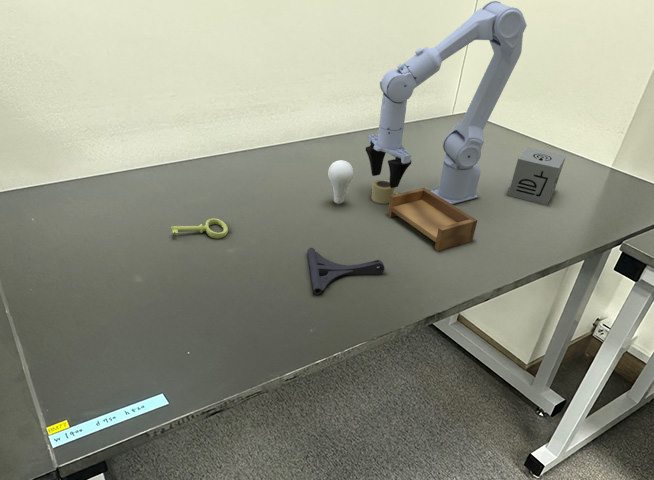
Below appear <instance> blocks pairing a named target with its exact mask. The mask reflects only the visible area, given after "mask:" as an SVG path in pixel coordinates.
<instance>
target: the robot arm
mask: <svg viewBox="0 0 654 480" xmlns="http://www.w3.org/2000/svg"><path fill="white" fill-rule="evenodd" d="M527 26H528V25H527V22H526V19H525V17H524V15H523V11H522V10H520V9H519V8H518V7H514V6H509V5H506V4H504V3H502V2H501V1H497V0H492V1H489V2H487V3H486V4H484V5H483V6H482V8H479V9H477V10H475V11H474V12H473V13H472V14H471V16H470V17H469V18H468V19H467V20H465V21H464V22H463V23H462V24H461V25H460V26H458V27H457V28H456V29H455V30H454V31H453V32H451V33H450V34H448V35H447V36H446V37H445V38H444V39H443V40H442V41H440V42H439V43H438V44H436V45H435V46H434V47H427V46H426V47H424V48H418V49H416V50H415V51H414V52H415V54H414V55H413V56H412V57H410V58H408V59H407V60H406V61H405V62H404V63H399V64H398V65H397V66H396V68H397V69H390V70H388V71H387V72H386V73H384V75H383V76H382V77H383V78H381V80H380V81H379V87H380V88H379V89H380V90H381V92H382V97H381V106H380V115H379V123H378V124H379V125H378V133H377V134H370V135H369V134H368V138H367V144H368V146H366V147H365V152H366V154H367V157H368V161H369V164H370V172H371V176H372V177H377V176H380V175H381V173H382V169H383V163H384V159H385V156H386V154H388V155H391V156H392V157H394V159H389V160H387V164H388V168H389V181H390V187H391V188H394V189H395V188H398V187H399V186H400V183H401V181H402V179H403V176H404V174H405V172H406V171H407V169H408V168H410V166H411V165H412V154H411V153H409V152H408V150H407V149H406V148H405V147H404V146H403V145H402V143H403V135H404V128H405V120H406V114H407V113H406V112H407V104H408V100H410V98H411V97H412V95H413V93H414V90H415V89H416V88H417V87H419V86H420V85H422V84H423V83H424V82H426V81H427V80H428V79H429V78H431V77H432V76H434V75H435V74H437V73H438V72H439V71H440V69H441V66H442V63H443V62H444V61H446V60H447V59H448V58H450V57H451V56H453V55H455V54H456V53H457V52H459V51H460V50H462V49H463V48H466V46H468V45H470V44H471V43H473V42H474V41H489V43H490V46H491V48H492V51H493V54H492V57H491V59H490V61H489V63H488V65H487V68H486V69H485V72H484V74H483V76H482V77H481V80H480V83H479V84H478V86H477V88H476V91H475V93H474V95H473V97H472V99H471V100H470V104H469V106H468V107H467V109H466V111H465V114H464V116H463V118H462V120H460V121H459V122H457V123H456V124H455V125H454V126H453V128H452V129H451V131H450V132H449V133H448V134H447V135H446V136H445V138H444V139H443V142H442V150H443V151H444V153H445V156H444V159H443V163H442V168H441V174H440V180H439V185H438V188H437V189H433V190H430V191H431V192H432V193H434V194H435V195H437V196H439V197H440V198H442V199H444V200H445V201H447V202H449V203H450V204H452V205H455V204H459V203H462V202H466V201H471V200H474V199H477V198H478V195H477V190H478V185H479V182H480V178H481V166H480V165H479V163H478V162H479V161H480V159H481V157H482V148H483V145H484V143H485V136H484V129H485V128H486V125H487V123H488V121H489V119H490V117H491V115H492V113H493V111H494V109H495V107H496V105H497V103H498V101H499V99H500V97H501V95H502V93H503V91H504V90H505V87H506V85H507V83H508V81H509V79H510V77H511V75H512V73H513V71H514V69H515V67H516V65H517V63H518V62H519V59H520V57H521V55H522V51H523V50H522V49H523V38H524V32H525V31H526V28H527Z"/></svg>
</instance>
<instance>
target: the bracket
mask: <svg viewBox="0 0 654 480" xmlns="http://www.w3.org/2000/svg"><path fill="white" fill-rule="evenodd" d="M307 258H308V265H309V271H310V277H311V278H310V280H311V285H312V292H313V294H314V295H316V296H320V295H321V294H322V292H325V289H326V287H328V285H329V284H330V283H331V282H332V281H334V280H335V279H337V278H338V277H341V276H350V275H351V276H352V275H353V276H354V275H355V276H356V275H357V276H358V275H359V276H361V275H380V274H382V273H384V271H385V265H384V262H383V261H382V260H380V259H375V260H372V261H368V262H363V263H358V264H348V265H347V264H343V263H342V264H341V263H337V262H334V261H332V260H329V259H327V258H325V257H324V256H322V255H321V254H320V252H318V251H316V249H315V247H309V248H308V249H307Z"/></svg>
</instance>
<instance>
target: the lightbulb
mask: <svg viewBox="0 0 654 480" xmlns="http://www.w3.org/2000/svg"><path fill="white" fill-rule="evenodd" d="M327 174H328V177H327V178H328V179H329V182H330V184H331V187H332V193H333V202H334V203H335V204H337V205H340V204H343V203H344V202H345V197H346V196H345V195H346V194H347V189H348V187H349V185H350V184H351V182H352V180H353V179H354V174H355V171H354V168H353V166H352V164H351V163H350V162H348V161H346V160H345V159H344V160H343V159H342V160H341V159H338V160H336V161H333V162H332V163H331V165H330V166H329V167H328V170H327Z"/></svg>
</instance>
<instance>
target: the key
mask: <svg viewBox="0 0 654 480" xmlns="http://www.w3.org/2000/svg"><path fill="white" fill-rule="evenodd" d="M211 225H218V226H220V227H221V228H222V231H221V232H218V231H217V232H216V231H213V230H212V229H211V228H210V226H211ZM170 231H171V233H172V235H174V236H175V235H179V233H184V232H185V233H186V232H188V233H190V232H199V233H200V234H203V232H205V233H206V234H207V236H208V237H210V238H212V239H222V238H225V237H226V236H227V234H228V233H229V228H228V225H227V224H226V222H224V221H223V220H221V219H219V218H216V217H215V218H209V219H207V220H206V221H205V224H204V225H203V224H202V223H200V224H199V225H176V226H175V225H173V226H171V227H170Z"/></svg>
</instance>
